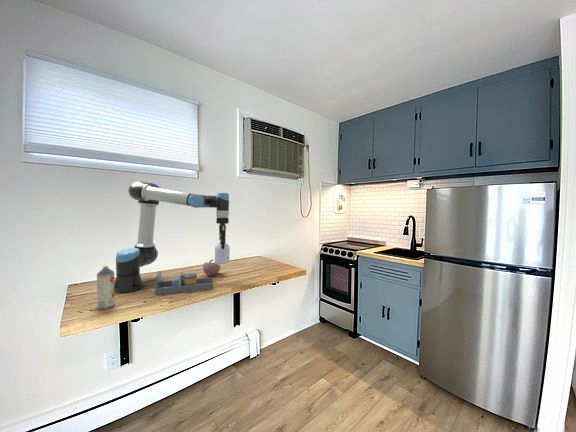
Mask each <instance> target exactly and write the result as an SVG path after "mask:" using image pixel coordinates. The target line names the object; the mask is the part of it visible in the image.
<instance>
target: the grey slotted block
mask: <svg viewBox="0 0 576 432" xmlns="http://www.w3.org/2000/svg"><path fill="white" fill-rule="evenodd" d="M213 281H214V280H213V276H209V277H197V285H186V286H183V279H182V286H175V287H172V280H163V281H162V270H160V271H158V272H157V274H156V275H155V277H154V296H157V295H159V296H160V295H168V294H178V293H180V294H181V293H190V292H200V291H208V290H214V282H213Z"/></svg>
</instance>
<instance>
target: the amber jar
mask: <svg viewBox="0 0 576 432" xmlns="http://www.w3.org/2000/svg"><path fill="white" fill-rule="evenodd" d="M197 278H198V273H195V272H194V273H193V272H190V273H189V272H188V273H185V274H184V273H183V274H182V280H183V286H186V285H197Z"/></svg>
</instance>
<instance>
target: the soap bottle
mask: <svg viewBox="0 0 576 432" xmlns="http://www.w3.org/2000/svg"><path fill="white" fill-rule="evenodd" d="M219 226H221V224H219ZM219 226H218V227H219ZM225 226H226V227H227V224H225ZM218 236H220V237H221V234H220V232H219V231H218ZM226 236H227V235H226V233H225V237H226ZM219 241H220V242H221V239H220V240H219ZM220 247H221V244H220V243H217V244H215V247H214V263H215V264H219V265H224V264H226V265H227V264H229V263H230V245H229V244H228V243H225V254H220Z"/></svg>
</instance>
